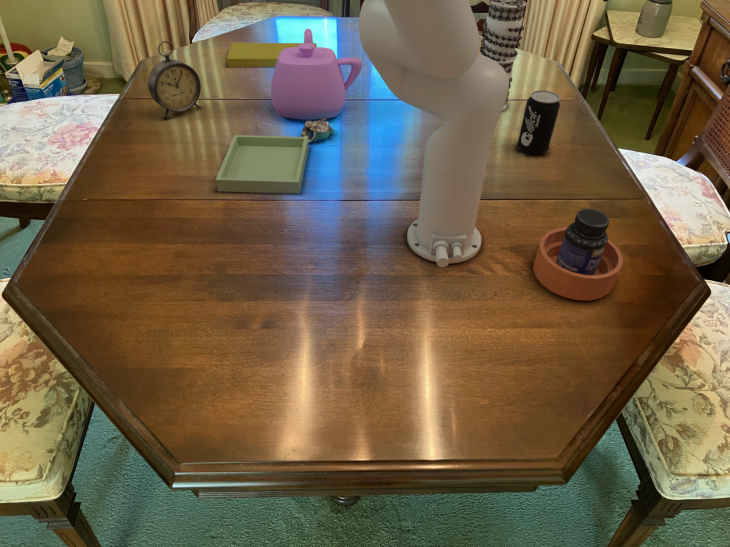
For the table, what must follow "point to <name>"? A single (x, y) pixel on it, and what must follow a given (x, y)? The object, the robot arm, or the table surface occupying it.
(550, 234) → the bowl
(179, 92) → the alarm clock
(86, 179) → the table surface
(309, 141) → the ornament
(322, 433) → the table surface
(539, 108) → the beverage can
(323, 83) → the teapot
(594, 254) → the pill bottle
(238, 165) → the tray
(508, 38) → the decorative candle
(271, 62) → the flat olive board
